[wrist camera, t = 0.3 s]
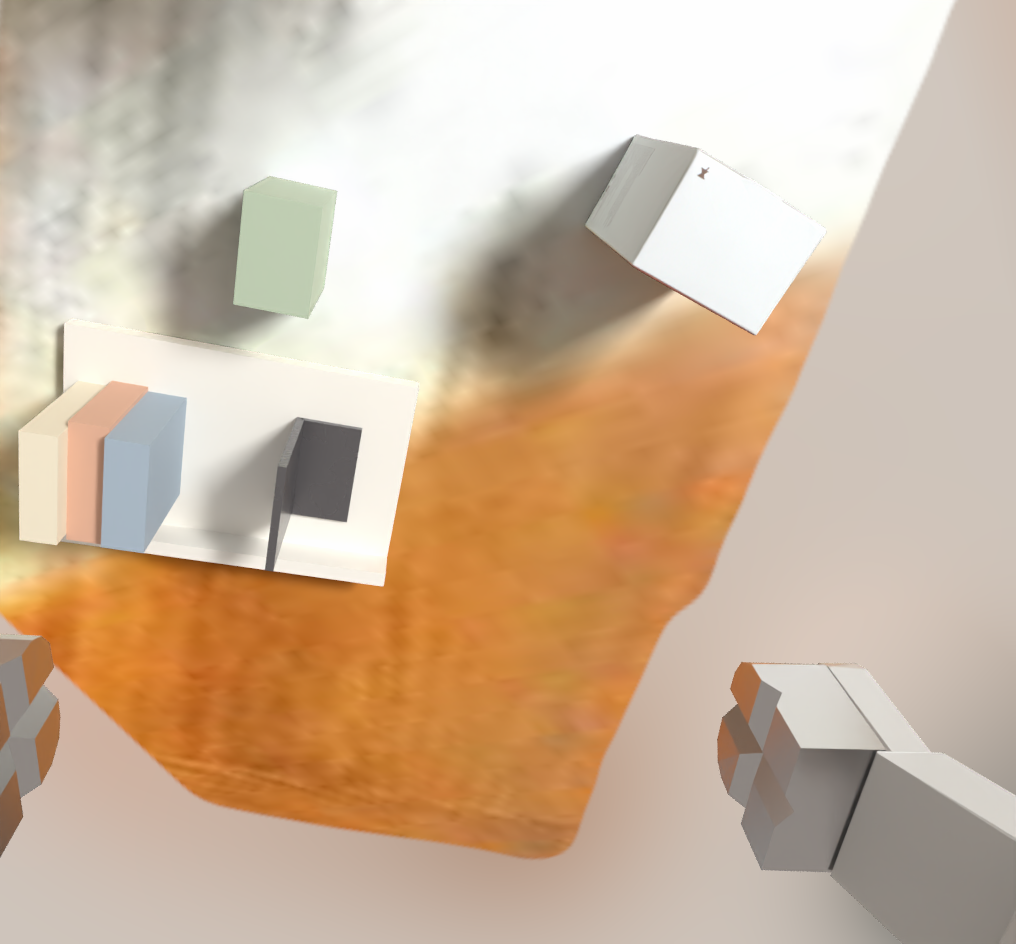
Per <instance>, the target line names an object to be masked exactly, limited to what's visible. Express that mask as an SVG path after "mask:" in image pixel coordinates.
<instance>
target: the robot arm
mask: <svg viewBox="0 0 1016 944" xmlns="http://www.w3.org/2000/svg"><path fill="white" fill-rule="evenodd" d="M53 668H54V665H53V659H52V654H51V648H50V643H49V642H48V641H47V640H46V639H44V638H43V637H42V636H31V635H14V634H0V857H1V855H2V853H3V852H4V850H5V848H6V846H7V845H8V843H9V841H10V839H11V838H12V836H13V834H14V832H15V830H16V829H17V827H18V825H19V823H20V821H21V820H22V818H23V811H22V805H21V797H23V796H24V795H25V794H27V793H29V792H30V791H32V790H33V789H35V788H36V787H38V786H39V785H41V784H42V782H43V780H44V778H45V776H46V774H47V772H48V770H49V769H50V767H51V765H52V762H53V758H54V755H55V751H56V747H57V744H58V740H59V731H60V730H59V729H60V710H59V702H58V699H57V698H56V697H55V696H54V695H53V694H52V693H51V692H50V691H49V690H48V689H47V688H46V687H45V686H44V685H43V684H44V682H45V680H46V679H47V677H48V676H49V674H50V673H51V671H52V670H53ZM730 689H731V691H732V693H733V695H734V697H735V699H736V701H737V703H738V704H737V705H736V706H735V707H733V708H732V709H731V710H730V711H729V712H728V713H727V714H726V715H725V716H723V717H722V722H721V726H720V730H719V735H718V739H717V741H718V764H719V769H720V774H721V778H722V780H723V783H724V785H725V788H726V790H727V793H728V795H730V796H731V797H732V798H733V799H735V800H736V801H737V802H738V803H740V804H741V805H742V806H743V807H745V812H744V815H743V818H742V822H741V825H742V827H743V829H744V832H745V834H746V836H747V839H748V841H749V843H750V845H751V848H752V850H753V852H754V854H755V857H756V859H757V861H758V863H759V866H760V868H761V870H779V871H811V872H832V873H831V877H832V878H833V879H835V880H836V881H837V882H838V883H839V884H840V885H841V886H842V887H843V888H844V889H845V890H846V891H847V892H848V893H849V894H851V896H853V897H854V898H855V899H856V900H857V901H858V902H859V903H860V904H861V905H862V906H863V907H864V908H865V909H866V910H867V911H868V912H870V913H871V914H872V915H873V916H874V917H875V918H876V919H877V920H878V921H879V922H880V923H881V924H882V925H883V926H884V927H886V928H887V930H888V931H890V932H891V933H892V934H893V935H894V936H895V937H896V938H897V939H898V940H899V941H900V942H901V943H902V944H1016V796H1015V795H1014V794H1012V793H1010V792H1009V791H1007V790H1005V789H1004V788H1002V787H1000V786H998V785H997V784H995V783H993V782H992V781H990V780H988V779H987V778H985V777H983V776H982V775H980V774H978V773H976V772H975V771H973V770H971V769H970V768H968V767H966V766H965V765H963V764H961V763H960V762H958V761H956V760H955V759H953V758H951V757H949V756H947V755H946V754H944V753H932V752H930V750H929V749H928V748H927V746H926V745H925V744H924V743H923V741H922V740H921V739H920V737H919V736H918V735H917V734H916V732H915V731H914V730H913V729H912V727H911V726H910V725H909V723H908V722H907V721H906V720H905V718H904V717H903V716H902V714H901V713H900V712H899V710H898V709H897V708H896V707H895V705H894V704H893V703H892V701H891V700H890V699H889V698H888V696H887V695H886V694H885V692H884V691H883V690H882V689H881V687H880V686H879V685H878V683H877V682H876V681H875V679H874V678H873V677H872V676H871V674H870V673H869V672H868V670H867V669H865V668H864V667H862V666H860V665H858V664H856V663H818V664H786V663H784V664H783V663H751V662H741V664H740V665H739V667H738V668H737V670H736V672H735V674H734V678H733V681H732V684H731V688H730Z"/></svg>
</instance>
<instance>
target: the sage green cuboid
mask: <svg viewBox="0 0 1016 944" xmlns="http://www.w3.org/2000/svg"><path fill="white" fill-rule="evenodd" d="M336 196H337V191H335V190H331V189H326V188H322V187H317V186H313V185H308V184H304V183H299V182H294V181H290V180H285V179H281V178H276V177H272V176H269V177H267V178H266V179H264V180H262V181H260V182H258V183H256V184H254V185H253V186H251V187H249V188H247V189H245V190H244V194H243V204H242V215H241V226H240V236H239V247H238V258H237V268H236V279H235V290H234V300H233V304H234V305H239V306H244V307H249V308H254V309H260V310H265V311H270V312H275V313H280V314H286V315H291V316H296V317H301V318H306V319H308V318H309V316H310V314H311V312H312V310H313V308H314V307H315V305H316V303H317V301H318V299H319V297H320V295H321V293H322V291H323V289H324V285H325V277H326V270H327V263H328V255H329V248H330V240H331V233H332V226H333V218H334V211H335V204H336Z"/></svg>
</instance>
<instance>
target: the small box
mask: <svg viewBox="0 0 1016 944" xmlns="http://www.w3.org/2000/svg"><path fill="white" fill-rule="evenodd" d="M585 227H586V228H587V229H588V230H590V231H591V232H592V233H593V234H595V235H596V236H597V237H599V238H600V239H601V240H602V241H603V242H604V243H606V244H607V245H608V246H609V247H610V248H612V249H613V250H614V251H615V252H616V253H618V254H619V255H620V256H621V257H623V258H624V259H625V260H626V261H627V262H628V263H629V264H630V265H631V266H633V267H634V268H636V269H637V270H639V271H641V272H642V273H644V274H646V275H648V276H649V277H651V278H653V279H655V280H656V281H658V282H660V283H662V284H663V285H665V286H667V287H669V288H670V289H672V290H674V291H676V292H677V293H679V294H681V295H683V296H685V297H686V298H688V299H690V300H692V301H693V302H695V303H697V304H699V305H700V306H702V307H704V308H706V309H708V310H709V311H711V312H713V313H715V314H717V315H719V316H720V317H722V318H724V319H726V320H727V321H729V322H731V323H733V324H734V325H736V326H738V327H740V328H742V329H744V330H745V331H747V332H749V333H751V334H753V335H756V334H757V333H758V332H759V331H760V329H761V328H762V326H763V324H764V323H765V322H766V320H767V319H768V317H769V316H770V314H771V312H772V311H773V309H774V308H775V307H776V305H777V304H778V302H779V301H780V299H781V298H782V296H783V295H784V293H785V292H786V291H787V289H788V288H789V286H790V285H791V283H792V282H793V280H794V279H795V277H796V276H797V274H798V273H799V272H800V270H801V269H802V267H803V266H804V264H805V263H806V261H807V260H808V258H809V257H810V256H811V254H812V253H813V251H814V250H815V248H816V247H817V245H818V244H819V243H820V241H821V240H822V238H823V237H824V235H825V234H826V228H824V227H823V226H822V225H820V224H819V223H818V222H816V221H815V220H813V219H812V218H810V217H809V216H807V215H805V214H804V213H802V212H801V211H799V210H798V209H796V208H795V207H793V206H792V205H790V204H789V203H787V202H786V201H784V200H783V199H781V198H780V197H778V196H777V195H775V194H774V193H772V192H771V191H770V190H768V189H767V188H765V187H764V186H762V185H760V184H759V183H757V182H756V181H754V180H753V179H751V178H749V177H747V176H745V175H743V174H741V173H739V172H738V171H736V170H734V169H733V168H731V167H730V166H728V165H726V164H725V163H723V162H721V161H720V160H718V159H717V158H715V157H713V156H712V155H710V154H708V153H706V152H705V151H703V150H701V149H700V148H695V147H691V146H686V145H681V144H677V143H672V142H667V141H662V140H657V139H652V138H649V137H645V136H640V135H635V137H634V138H633V140H632V142H631V144H630V146H629V147H628V149H627V151H626V153H625V155H624V157H623V158H622V160H621V162H620V164H619V165H618V167H617V169H616V171H615V173H614V174H613V176H612V178H611V180H610V182H609V184H608V185H607V187H606V189H605V191H604V192H603V194H602V196H601V198H600V199H599V201H598V203H597V205H596V206H595V208H594V210H593V212H592V213H591V215H590V217H589V219H588V220H587V222H586V224H585Z"/></svg>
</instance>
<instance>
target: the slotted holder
mask: <svg viewBox="0 0 1016 944" xmlns="http://www.w3.org/2000/svg"><path fill="white" fill-rule="evenodd" d="M418 391H419V382H416V381H411V380H405V379H400V378H394V377H389V376H384V375H378V374H373V373H367V372H362V371H356V370H351V369H345V368H340V367H335V366H329V365H324V364H318V363H313V362H307V361H302V360H296V359H291V358H286V357H280V356H275V355H269V354H264V353H258V352H253V351H247V350H242V349H236V348H231V347H226V346H220V345H215V344H209V343H204V342H198V341H193V340H187V339H182V338H177V337H171V336H166V335H160V334H155V333H149V332H144V331H138V330H133V329H128V328H122V327H117V326H111V325H106V324H100V323H95V322H89V321H84V320H79V319H73V318H71V319H70V320H68V321H67V322H65V323H64V370H63V394H62V395H61V396H60V397H58V398H57V399H56V400H55V401H54V402H52V403H51V404H50V405H49V406H48V407H46V408H45V409H44V410H43V411H42V412H40V413H39V414H38V415H37V416H36V417H34V418H33V419H32V420H31V421H30V422H28V423H27V424H26V425H25V426H24V427H22V428H21V429H20V430H19V431H18V443H19V540H23V541H30V542H37V543H44V544H51V545H57V544H58V543H59V542H60V541H62V542H69V543H76V544H83V545H91V546H98V547H103V548H110V549H117V550H124V551H131V552H139V553H148V554H155V555H162V556H169V557H176V558H183V559H191V560H198V561H205V562H212V563H219V564H226V565H234V566H241V567H248V568H255V569H262V570H267V571H276V572H284V573H291V574H298V575H305V576H312V577H319V578H326V579H334V580H341V581H348V582H355V583H362V584H369V585H377V586H383V585H384V580H385V575H386V563H387V554H388V549H389V544H390V538H391V533H392V528H393V523H394V517H395V512H396V507H397V502H398V496H399V491H400V486H401V480H402V475H403V470H404V465H405V459H406V454H407V449H408V444H409V438H410V433H411V428H412V423H413V417H414V412H415V407H416V401H417V396H418Z"/></svg>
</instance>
